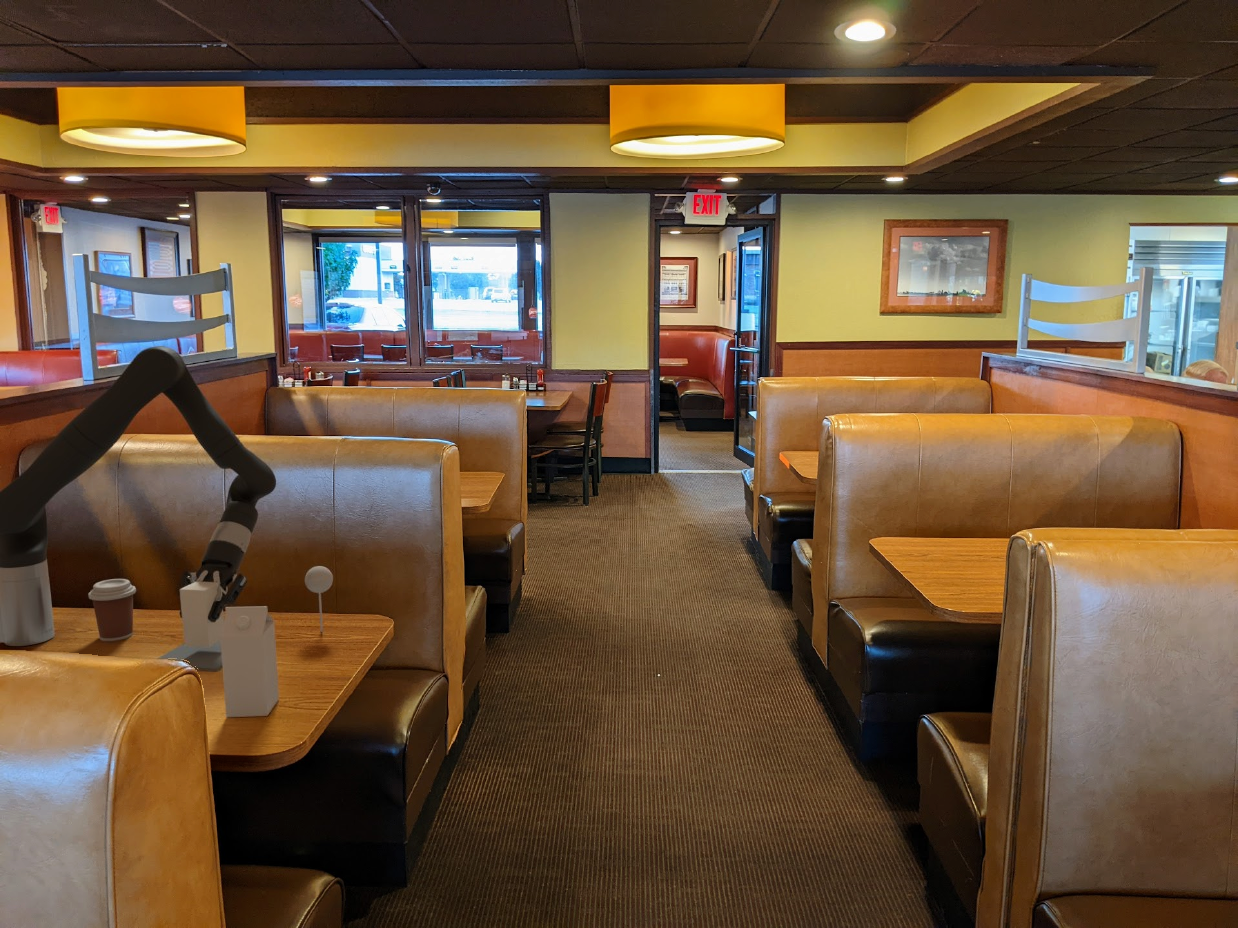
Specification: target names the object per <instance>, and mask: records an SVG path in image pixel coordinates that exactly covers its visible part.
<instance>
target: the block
mask: <svg viewBox="0 0 1238 928" xmlns="http://www.w3.org/2000/svg"><path fill="white" fill-rule="evenodd" d="M218 586H219V583H214V582H196V581H195V582H194V583H192V584H190V585H188V586H186V587H183V588H181V589H180V597H179V599H180V610H181V611H182V618H181V619H182V620H181V621H182V632H183V634H182V635H183V644H184V645H185V646H194V647H211V646H212V645H214V644H216V643H217V642H219V641H221V639H220V635H221V631H222V627H223V622H224V618H225V617H224V608H223V609H222V612H221V614H220V617H219V618H218V620H216V622H211V621H210V620H209V619H208V615H209V612H210V610H211V607H212V605H213V602H216V599H215V597H216V594H217V588H218Z"/></svg>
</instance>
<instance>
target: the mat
mask: <svg viewBox="0 0 1238 928" xmlns="http://www.w3.org/2000/svg"><path fill="white" fill-rule="evenodd" d="M168 658H177V659H168ZM157 659H168V660H175V661H183V662H186V663H188V664H189V665H191V666H192V667H194V668H195V669H196V670H195V671H203V670H206V672H218V671H220V670H223V666H222V653H221V641H219V642H217V643H216V644H214V645H212V646H211V647H194V646H185V645H184V643H183V644H181V645H179V646H177V647H176V648H173V649H172V650H170V651H168V652H167V653H165V654H163V655H161V656H160V657H157ZM181 659H184V660H187V661H189V662H190V663H189V662H187V661H184V660H181ZM195 666H196V667H195ZM197 668H198V669H199V670H198V669H197Z"/></svg>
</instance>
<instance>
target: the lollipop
mask: <svg viewBox="0 0 1238 928" xmlns="http://www.w3.org/2000/svg"><path fill="white" fill-rule="evenodd" d="M333 581H334V576H333V573H332V572H331V570H330V569H329V568H327V567H325V566H323V565H322V566H321V565H318V566H317V565H316V566H313V567H311V568H310V569H309V570H308V571H307V572H306V575H305V577H304V584H305V587H306V589H308V590H309V591H310V592H312V593H316V594H318V604H319V605H318V606H319V607H318V608H319V622H320V623H319V624H320V625H319V627H320V633H324V629H323V628H324V627H323V611H322V608H323V607H322V594H323V593H324V592H327V591H328V590H329V589H331V586H332V585H333Z"/></svg>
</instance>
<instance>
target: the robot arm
mask: <svg viewBox="0 0 1238 928" xmlns="http://www.w3.org/2000/svg"><path fill="white" fill-rule="evenodd" d="M183 359H184V358H183V357H182V356H181V354H179V352H177V351H176V350H175V349H173V348H171V347H168V346H165V345H164V346H161V345H160V346H159V345H158V346H151V347H147V348H145V349H143V350H141V351H139V352H138V353H137V355H136V356H135V357H134V358H133V360H131V362H130V363H129V364H128V366H127V367H126V369H125V370H124V371H123V372H122V373H121V374H120V376H119V377H118V378H116V381H114V383H113V384H112V385H111V386H110V387H109V388H108V389H107V390H106V391H105V392H103V393H102V394H101V395H99V396H98V397H96V399H94V400H93V401H91V403H90V404H89V405H87V406H86V407H85V408H83V410H82V411H80V412H79V413H78V414H77V415H76V416H75V417H73V418H72V419H71V420H70V422H68V423H67V424H66V425H65V426H64V427H63V429H61V430H60V431H59V432H58V434H56V435H55V437H54V438H53V439H52V440H51V441H50V442H49V443H48V444H47V445H46V447H44V449H43V450H42V451H41V452H40V453H39V455H38V456H37V457H36V458H35V459H34V461H33V462H32V463H31V464H30V465H29V467H28V468H26V469H25V470H24V471H23V472H22V473H21V474H20V475H19V476H18V477H16V478H15V479H14V480H13V481H12V482H10V483H9V484H8V485H7V486H6V487H4V488H3V489H1V490H0V643H3V644H4V645H6V646H10V647H24V646H30V645H31V646H32V645H36V644H40V643H43V642H46V641H49V640H51V639H53V638H54V637H55V635H56V634H55V626H54V625H55V624H54V614H53V606H52V605H53V604H52V595H51V586H50V577H49V567H48V559H47V550H48V545H49V533H48V531H49V530H48V517H47V509H46V506H47V504H48V503H49V502H50V501H51V499H53V498H54V497H55V496H56V495H57V494H58V493H59V492H60V491H61V490H62V489H64V488H65V487H66V486H67V485H69V484H70V483H72V482H73V481H75V480H76V479H77V478H78V477H80V476H81V475H83V474H84V473H85V472H87V471H88V470H89V469H90V468H92V467H93V466H94V465H95V464H96V463H97V462H98V461H100V459H101V458H102V457H104V456H105V455H106V453H108V451H109V450H111V448H113V446H114V445H115V444H117V442H118V441H119V440H120V438H122V435H123V434H124V433H125V432H126V430H127V429H128V428H129V426H130V424H131V423H132V422H133V420H134V419H135V417H136V416H137V415H138V413H139V412H140V411H141V410H142V409H144V408H145V407H146V406H147V405H148V404H150V402H152V401H153V400H154V399H156V397H158V396H159V395H160V394H163V395H164V396H166V398H168V400H169V401H171V403H172V404H173V405H174V406H175V407H176V408H177V410H178V411H179V413H180V414H181V415H182V417H183V418H184V420H185V422H186V423H187V425H188V428H189V429H190V430H191V432H192V434H193V435H194V437H195V439H196V440H197V442H198V443H199V445H201V447H202V449H203V450H204V451H205V453H206V454H208V456H209V457H210V459H212V461H213V462H214V463H215V465H217V467H219V468H220V469H222V470H228V469H230V470H232V471H233V472H234V473H235V474H237V475H236V476H235V477H234V479H233V481H232V482H231V484H230V485H229V488H228V492H227V497H226V503H225V509H224V512H223V513H222V515H221V517H220V520H219V522H218V524H217V526H216V528H215V530H214V531H213V533H212V536H211V537H210V540H209V543H208V544H207V547H206V549H205V552H204V555H203V556H202V558H201V565H200V567H199V568H198V569H197V570H196V571H195V572H189V571H187V570H185V571H183V572H182V574H181V579H180V583H179V586H178V587H179V588H178V590H177V591H178V592H177V596H178V597H179V598H180V589H181V588H183V587H186V586H188V585H190V584H192V583H194V582H214V583H219V586H218V588H217V594H216V597H215V599H216V602H213V605H212V607H211V610H210V612H209V615H208V619H209V620H210V621H211V622H216V620H218V618H219V617H220V614H221V612H222V609H223V610H224V607H226V606H227V605H228V604H231V605H234V604H235V603H236V601H238V598H239V597H240V595H241V593H242V592H243V590H244V588H245V586H246V585H247V584H248V579H247V578H246V577H245V576H244V575H243V573H238V571H239V570H240V567H241V565H242V562H243V561H244V557H245V555H246V552H247V550H248V547H249V545H250V541H251V537H252V534H253V532H254V530H255V526H256V524H257V521H258V518H259V512H258V510H257V508H256V505H257V503H258V502H259V500H261V499H262V498H264V497H266V496H268V495H270V494H271V493H272V492H274V490H275V489H276V486H277V479H276V475H275V473H274V472H273V470H272V468H271V467H270V466H269V465H268V464H267V463H266V462H265V461H264V460H262V459H261V458H260V457H258V456H257V455H256V454H255V453H254V452H252V451H251V450H250V449H248V448H247V447H246V446H245V445H244V444H243V442H242V441H241V440H240V439H239V437H238V436H237V435H236V433H234V431H233V430H232V429H231V428H230V427H229V425H228V424H227V423H226V421H224V419H223V417H221V415H220V414H219V413H218V412H217V411H216V409H215V408H214V407H213V405H212V404H211V403H210V401H208V399H207V398H206V396H205V395H204V393H203V392H202V390H201V389H200V387H199V385H197V382H196V381H195V379H194V377H193V375H192V374H191V372H190V370H189V368H188V366H187V365H186V362H185V361H184V360H183ZM237 573H238V574H237ZM229 585H230V587H229V588H228V586H229ZM179 616H180V618H181V619H182V611H181V609H180V610H179Z"/></svg>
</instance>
